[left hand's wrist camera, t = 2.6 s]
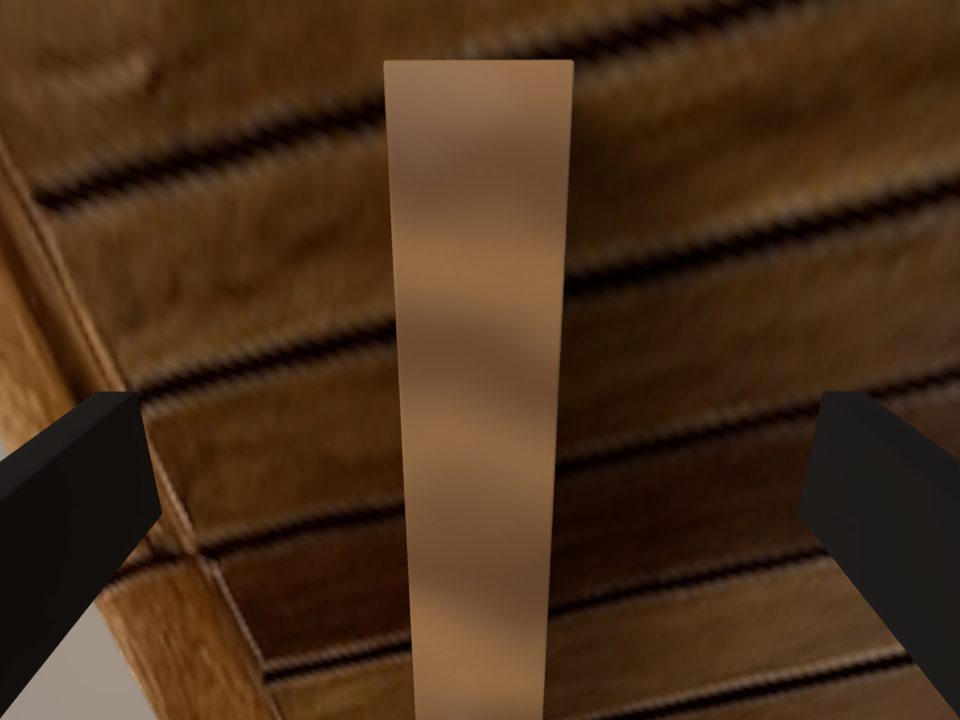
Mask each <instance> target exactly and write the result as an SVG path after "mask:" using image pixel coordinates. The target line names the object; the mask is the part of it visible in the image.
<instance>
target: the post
mask: <svg viewBox="0 0 960 720" xmlns="http://www.w3.org/2000/svg"><path fill="white" fill-rule="evenodd" d="M383 69H384V89H385V109H386V129H387V149H388V170H389V190H390V210H391V230H392V251H393V271H394V291H395V311H396V332H397V352H398V372H399V392H400V413H401V433H402V453H403V473H404V493H405V514H406V534H407V554H408V574H409V595H410V615H411V635H412V655H413V676H414V696H415V716H416V720H543V706H544V685H545V665H546V644H547V623H548V603H549V582H550V561H551V540H552V520H553V499H554V478H555V458H556V437H557V416H558V395H559V375H560V354H561V333H562V313H563V292H564V271H565V250H566V230H567V209H568V188H569V168H570V147H571V126H572V105H573V85H574V61H572V60H385V61H384V63H383Z"/></svg>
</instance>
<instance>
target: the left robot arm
mask: <svg viewBox="0 0 960 720" xmlns="http://www.w3.org/2000/svg"><path fill="white" fill-rule="evenodd" d="M161 515H162V510H161V506H160V501H159V496H158V491H157V487H156V482H155V477H154V472H153V468H152V463H151V458H150V453H149V449H148V444H147V439H146V434H145V430H144V425H143V420H142V415H141V411H140V406H139V401H138V396H137V392H95V393H94V394H92V395H91V396H90V397H88V398H87V399H86V400H84V401H83V402H81V403H80V404H79V405H77V406H76V407H75V408H73V409H72V410H70V411H69V412H68V413H66V414H65V415H64V416H62V417H61V418H59V419H58V420H57V421H55V422H54V423H53V424H51V425H50V426H48V427H47V428H46V429H44V430H43V431H42V432H40V433H39V434H37V435H36V436H35V437H33V438H32V439H31V440H29V441H28V442H26V443H25V444H24V445H22V446H21V447H20V448H18V449H17V450H16V451H14V452H13V453H11V454H10V455H9V456H7V457H6V458H5V459H3V460H2V461H0V718H1V717H2V715H3V714H4V713H5V712H6V710H7V709H8V708H9V707H10V705H11V704H12V703H13V702H14V700H15V699H16V698H17V697H18V695H19V694H20V693H21V692H22V690H23V689H24V688H25V686H26V685H27V684H28V683H29V681H30V680H31V679H32V678H33V676H34V675H35V674H36V673H37V671H38V670H39V669H40V668H41V666H42V665H43V664H44V662H45V661H46V660H47V659H48V657H49V656H50V655H51V654H52V652H53V651H54V650H55V649H56V647H57V646H58V645H59V644H60V642H61V641H62V640H63V638H64V637H65V636H66V635H67V633H68V632H69V631H70V630H71V628H72V627H73V626H74V625H75V623H76V622H77V621H78V620H79V618H80V617H81V616H82V615H83V613H84V612H85V611H86V609H87V608H88V607H89V606H90V604H91V603H92V602H93V601H94V599H95V598H96V597H97V596H98V594H99V593H100V592H101V591H102V589H103V588H104V587H105V585H106V584H107V583H108V582H109V580H110V579H111V578H112V577H113V575H114V574H115V573H116V572H117V570H118V569H119V568H120V567H121V565H122V564H123V563H124V561H125V560H126V559H127V558H128V556H129V555H130V554H131V553H132V551H133V550H134V549H135V548H136V546H137V545H138V544H139V543H140V541H141V540H142V539H143V537H144V536H145V535H146V534H147V532H148V531H149V530H150V529H151V527H152V526H153V525H154V524H155V522H156V521H157V520H158V519H159V517H160V516H161ZM798 515H799V516H800V517H801V519H802V520H803V521H804V522H805V524H806V525H807V526H808V527H809V529H810V530H811V531H812V532H813V534H814V535H815V536H816V537H817V539H818V540H819V541H820V543H821V544H822V545H823V546H824V548H825V549H826V550H827V551H828V553H829V554H830V555H831V556H832V558H833V559H834V560H835V561H836V563H837V564H838V565H839V567H840V568H841V569H842V570H843V572H844V573H845V574H846V575H847V577H848V578H849V579H850V580H851V582H852V583H853V584H854V585H855V587H856V588H857V589H858V591H859V592H860V593H861V594H862V596H863V597H864V598H865V599H866V601H867V602H868V603H869V604H870V606H871V607H872V608H873V609H874V611H875V612H876V613H877V615H878V616H879V617H880V618H881V620H882V621H883V622H884V623H885V625H886V626H887V627H888V628H889V630H890V631H891V632H892V633H893V635H894V636H895V637H896V638H897V640H898V641H899V642H900V644H901V645H902V646H903V647H904V649H905V650H906V651H907V652H908V654H909V655H910V656H911V657H912V659H913V660H914V661H915V662H916V664H917V665H918V666H919V668H920V669H921V670H922V671H923V673H924V674H925V675H926V676H927V678H928V679H929V680H930V681H931V683H932V684H933V685H934V686H935V688H936V689H937V690H938V692H939V693H940V694H941V695H942V697H943V698H944V699H945V700H946V702H947V703H948V704H949V705H950V707H951V708H952V709H953V710H954V712H955V713H956V714H957V716H958V717H959V718H960V461H958V460H957V459H955V458H954V457H953V456H951V455H950V454H949V453H947V452H946V451H944V450H943V449H942V448H940V447H939V446H938V445H936V444H935V443H933V442H932V441H931V440H929V439H928V438H927V437H925V436H924V435H923V434H921V433H920V432H918V431H917V430H916V429H914V428H913V427H912V426H910V425H909V424H907V423H906V422H905V421H903V420H902V419H901V418H899V417H898V416H896V415H895V414H894V413H892V412H891V411H890V410H888V409H887V408H885V407H884V406H883V405H881V404H880V403H879V402H877V401H876V400H874V399H873V398H872V397H870V396H869V395H868V394H866V393H865V392H823V396H822V401H821V406H820V411H819V415H818V420H817V425H816V430H815V434H814V439H813V444H812V449H811V453H810V458H809V463H808V468H807V472H806V477H805V482H804V487H803V491H802V496H801V501H800V506H799V510H798Z"/></svg>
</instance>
